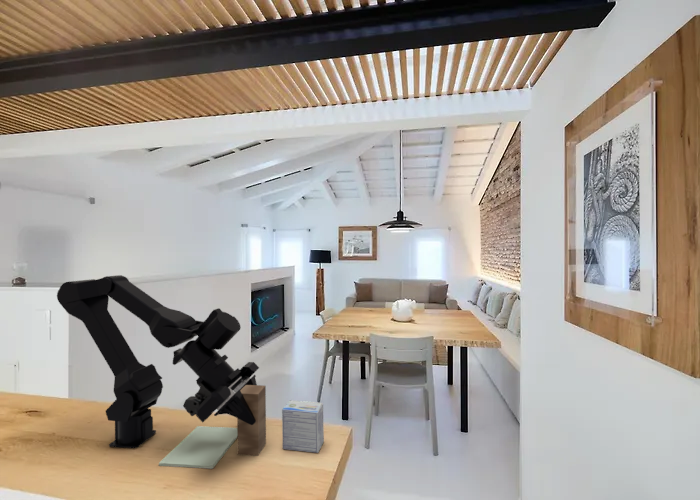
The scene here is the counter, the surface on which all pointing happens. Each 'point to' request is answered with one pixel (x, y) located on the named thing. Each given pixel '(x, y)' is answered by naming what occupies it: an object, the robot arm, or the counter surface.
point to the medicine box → (303, 426)
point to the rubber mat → (201, 448)
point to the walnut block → (254, 435)
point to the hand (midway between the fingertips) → (258, 417)
